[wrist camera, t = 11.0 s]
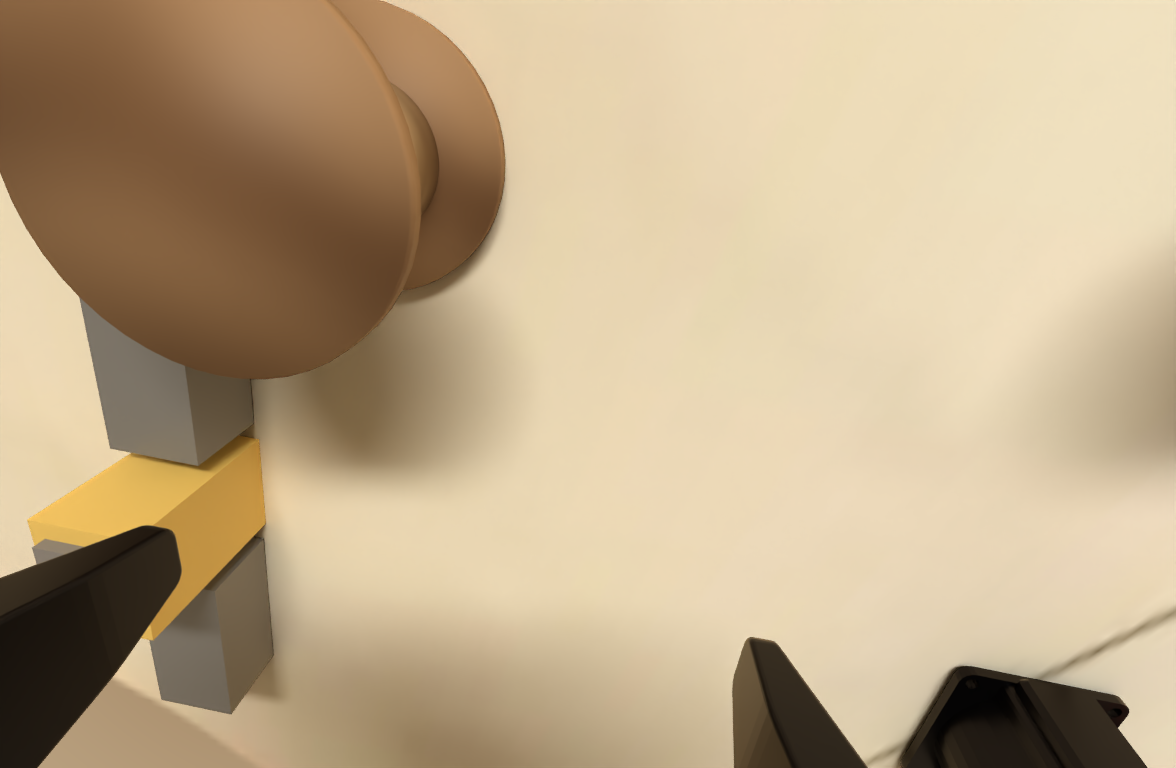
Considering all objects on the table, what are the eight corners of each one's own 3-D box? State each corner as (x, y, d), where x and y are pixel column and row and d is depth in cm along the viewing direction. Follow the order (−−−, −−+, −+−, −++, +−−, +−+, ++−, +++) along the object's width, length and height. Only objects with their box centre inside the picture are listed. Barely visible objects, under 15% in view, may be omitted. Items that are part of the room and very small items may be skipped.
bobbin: (491, 307, 19) (402, 411, 13) (254, 262, 20) (38, 340, 13) (519, 26, 16) (418, -41, 9) (233, -25, 16) (-74, -127, 9)
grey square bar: (273, 655, 27) (231, 714, 25) (210, 642, 28) (161, 699, 25) (238, 242, 19) (171, 263, 17) (150, 225, 20) (68, 243, 17)
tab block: (266, 523, 24) (143, 650, 19) (190, 508, 24) (44, 630, 19) (259, 439, 23) (121, 550, 17) (177, 423, 23) (13, 528, 17)
